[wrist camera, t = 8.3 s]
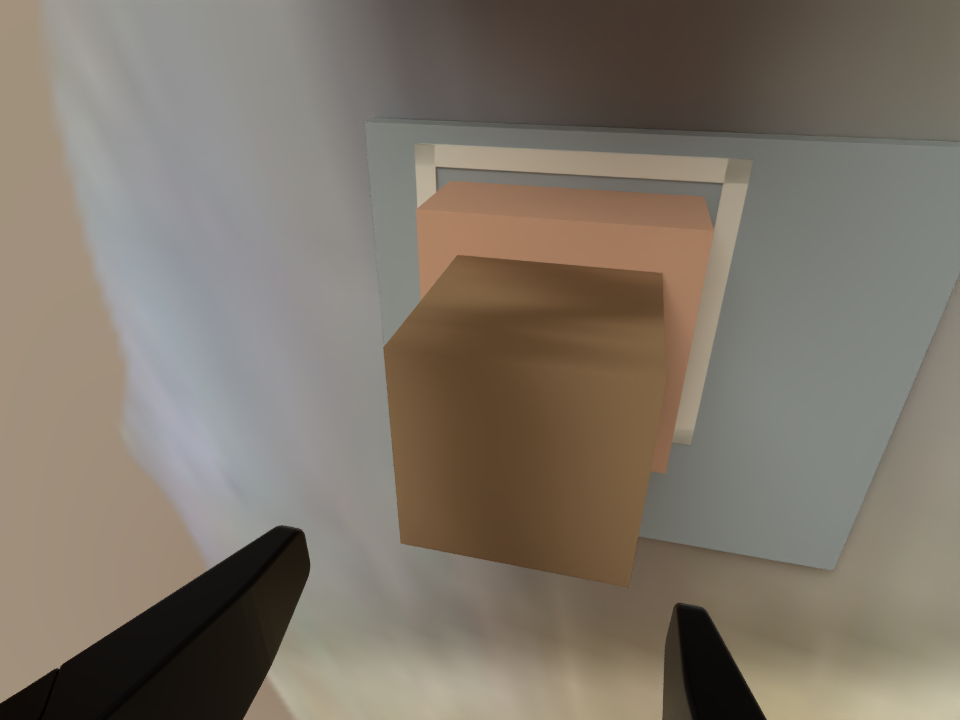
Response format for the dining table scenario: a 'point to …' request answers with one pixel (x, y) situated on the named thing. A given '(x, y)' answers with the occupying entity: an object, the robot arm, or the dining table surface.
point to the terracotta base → (582, 250)
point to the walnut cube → (529, 414)
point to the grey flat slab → (739, 302)
